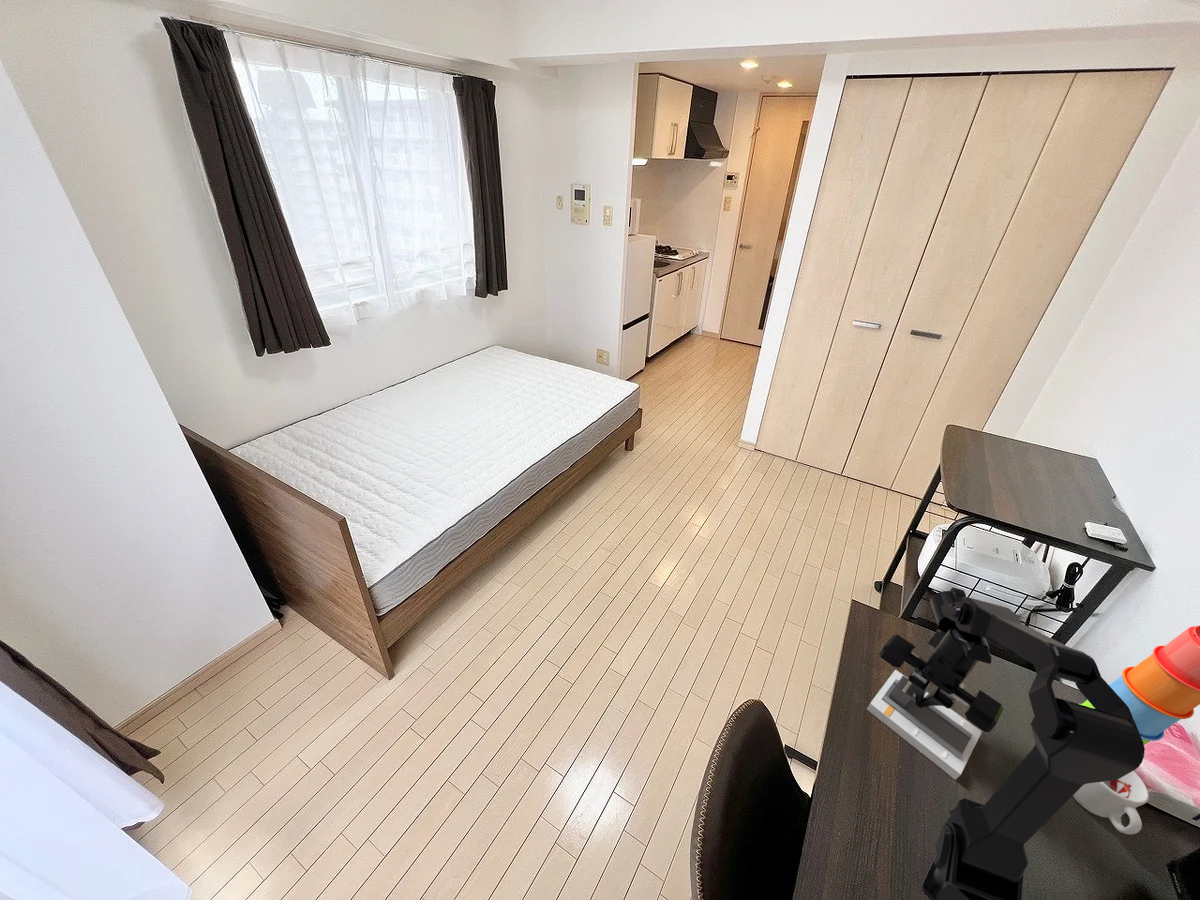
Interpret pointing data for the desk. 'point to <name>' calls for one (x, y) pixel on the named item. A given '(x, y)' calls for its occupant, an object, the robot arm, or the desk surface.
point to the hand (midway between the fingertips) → (918, 704)
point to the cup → (1115, 800)
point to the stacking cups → (1162, 685)
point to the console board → (928, 728)
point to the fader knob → (902, 692)
